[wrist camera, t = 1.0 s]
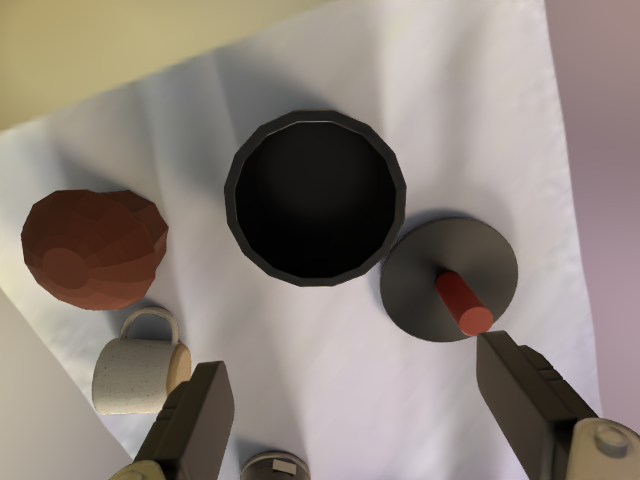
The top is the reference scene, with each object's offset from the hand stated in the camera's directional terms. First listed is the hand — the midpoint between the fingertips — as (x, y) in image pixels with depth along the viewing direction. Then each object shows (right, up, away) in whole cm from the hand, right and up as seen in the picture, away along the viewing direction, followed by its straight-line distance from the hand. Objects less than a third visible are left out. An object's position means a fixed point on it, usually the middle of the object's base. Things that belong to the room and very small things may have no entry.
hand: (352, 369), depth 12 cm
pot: (-1, +10, +26) cm, 28 cm away
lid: (+13, 0, +29) cm, 32 cm away
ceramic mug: (-20, -8, +33) cm, 39 cm away
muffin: (-21, +5, +28) cm, 36 cm away
